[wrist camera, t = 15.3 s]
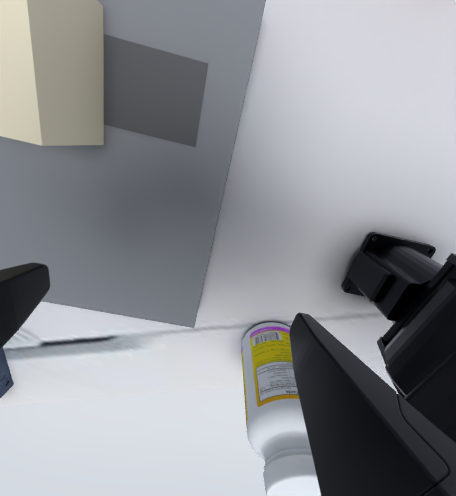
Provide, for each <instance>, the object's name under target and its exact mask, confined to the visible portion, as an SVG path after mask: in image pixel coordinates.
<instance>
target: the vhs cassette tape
mask: <svg viewBox="0 0 456 496" xmlns="http://www.w3.org/2000/svg"><path fill="white" fill-rule="evenodd" d="M12 385H13V380H12V378H11V374H10V370H9V367H8V364H7V360H6V357H5V353H4V350H3V347H2V348H1V349H0V398H1V397H2V396H3V395H4V394H5V393H6V392H7V391H8V390H9V388H10V387H12Z"/></svg>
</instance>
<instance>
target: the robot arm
mask: <svg viewBox="0 0 456 496" xmlns="http://www.w3.org/2000/svg"><path fill="white" fill-rule="evenodd" d="M375 236H376V237H375ZM373 237H375V239H373ZM372 239H373V240H372ZM435 251H436V249H435V247H433V246H431V245H429V244H424V243H420V242H416V241H411V240H407V239H403V238H398V237H394V236H389V235H385V234H381V233H376V232H372V233H370V234H369V235H368V236H367V238H366V240H365V242H364V244H363V246H362V248H361V250H360V252H359V253H358V255H357V257H356V259H355V261H354V262H353V264H352V266H351V268H350V270H349V272H348V274H347V277H346V279H345V281H344V282H343V284H342V289H343V291H344V292H346V293H351V294H356V295H361V296H366V297H367V299H368V300H369V301H371V302H372V303H373V304H374V305H375V306H376V307H377V308H378V309H379V310H380V312H381V313H382V314H383V315H384V316H385V317H386V318H387V319H388V320H391V321H392V322H393V323H394V324H393V325H392V327H391V328H390V329H389V330H388V331H387V333H386V334H385V335H384V336H383V337H380V339H379V340H378V341H377V344H378V346H379V349H380V351H381V354H382V357H383V359H384V362H385V364H386V367H385V368H386V371H387V373H388V375H389V376H390V378H391V380H392V382H393V384H394V386H395V388H396V389H397V391H398V393H399V394H400V395H401V396H402V397H401V396H400V395H399V394H396V391H395V390H394V389H392V388H391V387H390V386H389V385H388V384H387V383H385V381H383V380H382V379H381V378H380V377H379V376H378V375H377V374H376V373H374V372H373V371H372V370H371V369H370V368H369V367H368V366H366V365H365V364H364V363H363V362H362V361H361V360H360V359H359V358H357V357H356V356H355V355H354V354H353V353H352V352H351V351H350V350H348V349H347V348H346V347H345V346H344V345H343V344H342V343H341V342H339V341H338V340H337V339H336V338H335V337H334V336H333V335H332V334H330V333H329V332H328V331H327V330H326V329H325V328H324V327H323V326H321V325H320V324H319V323H318V322H317V321H316V320H315V319H314V318H312V317H311V316H310V315H309V314H304V313H298V314H297V315H296V317H295V319H294V321H293V323H292V325H291V328H290V331H289V336H290V345H291V353H292V362H293V370H294V376H295V381H296V386H297V390H298V395H299V399H300V404H301V408H302V413H303V417H304V422H305V426H306V430H307V435H308V439H309V444H310V448H311V453H312V457H313V462H314V466H315V471H316V475H317V480H318V484H319V488H320V493H321V496H456V254H453V253H451V254H450V256H449V257H448V258H447V259H446V260H448V261H447V262H446V263H445V264H444V265H441V264H439V263H437V262H436V261H434V260H432V259H431V257H432V256H433V254H434V253H435ZM348 286H349V287H348ZM347 287H348V288H347ZM49 289H50V277H49V269H48V266H47V265H45V264H40V263H28V264H23V265H19V266H15V267H10V268H6V269H2V270H0V349H1V348H2V347H3V346H4V345H5V344H6V343H7V342H8V341H9V339H10V338H11V337H12V336H13V335H14V334H15V333H16V332H17V331H18V330H19V328H20V327H21V326H22V325H23V323H24V322H25V321H26V320H27V318H28V317H29V316H30V314H31V313H32V312H33V311H34V309H35V308H36V307H37V305H38V304H39V303H40V301H41V300H42V299H43V298H44V296H45V295H46V294H47V292H48V291H49Z"/></svg>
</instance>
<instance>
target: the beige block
mask: <svg viewBox="0 0 456 496" xmlns="http://www.w3.org/2000/svg"><path fill="white" fill-rule="evenodd" d="M0 136H2V137H6V138H11V139H15V140H19V141H24V142H28V143H32V144H37V145H41V146H72V145H104V29H103V5H102V4H101V3H100V2H99V1H98V0H0Z"/></svg>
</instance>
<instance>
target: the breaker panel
mask: <svg viewBox="0 0 456 496" xmlns="http://www.w3.org/2000/svg"><path fill="white" fill-rule="evenodd" d="M98 1H99V2H100V3H101V4H102V5H103V29H104V145H72V146H41V145H37V144H32V143H28V142H24V141H19V140H15V139H11V138H6V137H2V136H0V270H2V269H6V268H10V267H15V266H19V265H23V264H28V263H40V264H45V265H47V266H48V269H49V277H50V289H49V291H48V292H47V294H46V295H45V296H44V298H43V299H42V300H41V301H44V302H50V303H55V304H61V305H67V306H72V307H78V308H84V309H89V310H95V311H101V312H106V313H112V314H118V315H124V316H129V317H135V318H141V319H146V320H152V321H158V322H163V323H169V324H175V325H180V326H186V327H192V328H194V326H195V321H196V317H197V312H198V307H199V303H200V298H201V294H202V289H203V285H204V280H205V276H206V271H207V266H208V262H209V257H210V253H211V248H212V244H213V239H214V235H215V230H216V225H217V221H218V216H219V212H220V207H221V203H222V198H223V194H224V189H225V184H226V180H227V175H228V171H229V166H230V162H231V157H232V153H233V148H234V144H235V139H236V134H237V130H238V125H239V121H240V116H241V112H242V107H243V103H244V98H245V93H246V89H247V84H248V80H249V75H250V71H251V66H252V62H253V57H254V52H255V48H256V43H257V39H258V34H259V30H260V25H261V21H262V16H263V12H264V7H265V2H266V0H98Z"/></svg>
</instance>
